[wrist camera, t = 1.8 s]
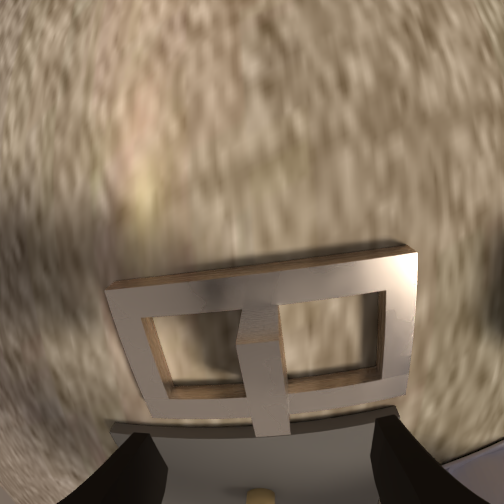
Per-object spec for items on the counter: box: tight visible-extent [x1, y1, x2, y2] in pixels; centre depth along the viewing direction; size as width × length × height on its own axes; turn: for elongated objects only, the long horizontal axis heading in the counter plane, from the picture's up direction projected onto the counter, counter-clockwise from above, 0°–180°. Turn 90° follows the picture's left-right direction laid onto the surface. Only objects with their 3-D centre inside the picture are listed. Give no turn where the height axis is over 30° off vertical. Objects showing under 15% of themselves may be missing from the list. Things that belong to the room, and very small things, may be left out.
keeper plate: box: [109, 406, 400, 504], centre depth 18 cm, size 18×14×3 cm
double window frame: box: [104, 245, 418, 437], centre depth 14 cm, size 14×8×4 cm, turn 98°
